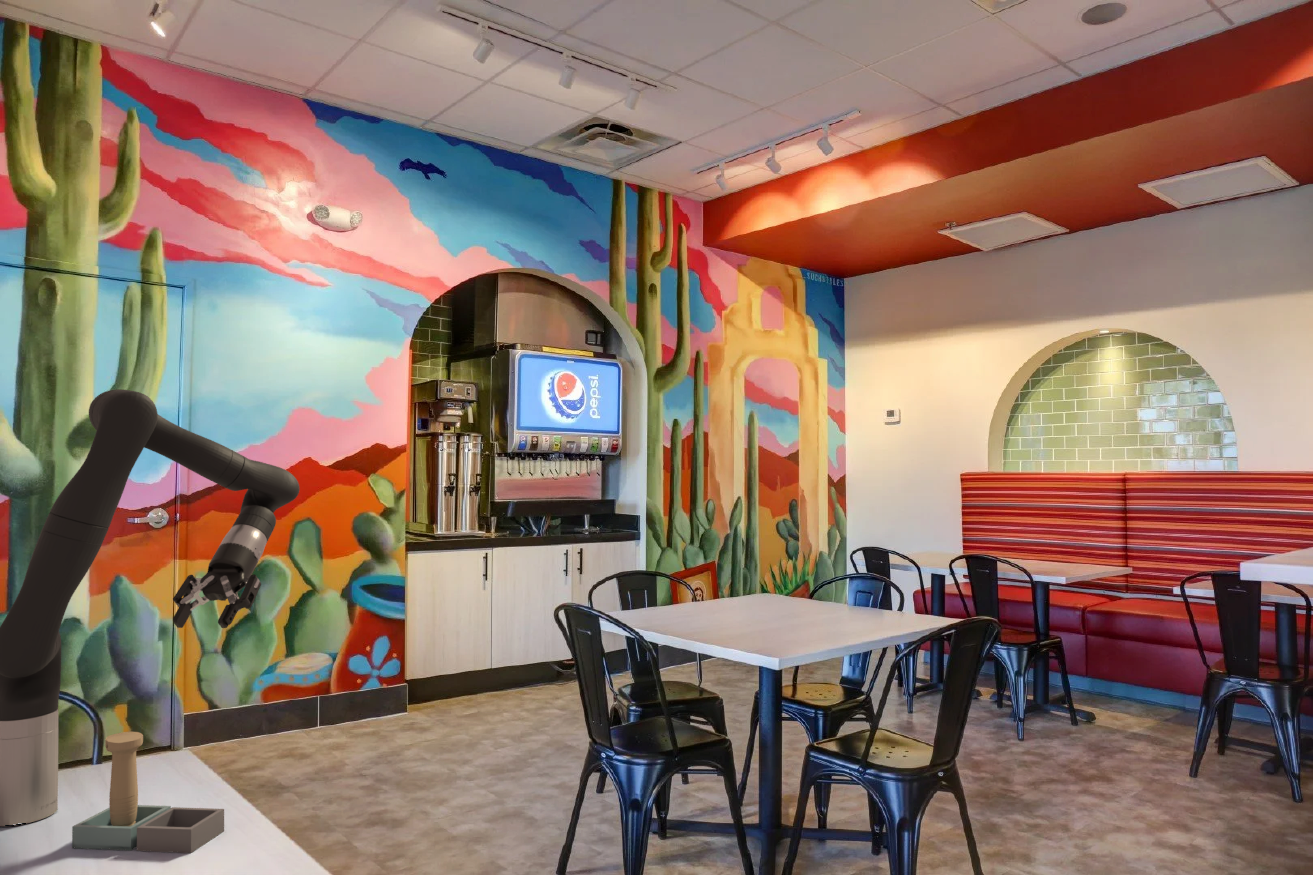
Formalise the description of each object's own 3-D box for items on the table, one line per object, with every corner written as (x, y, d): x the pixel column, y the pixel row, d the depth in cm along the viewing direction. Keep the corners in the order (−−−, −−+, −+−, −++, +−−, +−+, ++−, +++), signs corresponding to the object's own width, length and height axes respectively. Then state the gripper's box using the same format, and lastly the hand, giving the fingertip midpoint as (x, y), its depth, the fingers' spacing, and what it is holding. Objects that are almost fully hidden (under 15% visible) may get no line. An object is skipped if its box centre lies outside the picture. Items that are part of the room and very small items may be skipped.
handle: (112, 843, 133) (113, 744, 134) (99, 832, 138) (100, 736, 138) (147, 833, 137) (147, 737, 137) (133, 822, 141) (134, 729, 142)
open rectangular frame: (136, 850, 132) (136, 827, 132) (172, 829, 140) (172, 807, 140) (191, 853, 131) (191, 829, 131) (224, 831, 139) (224, 808, 139)
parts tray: (72, 848, 133) (72, 826, 133) (115, 824, 142) (115, 804, 142) (130, 850, 132) (130, 828, 132) (170, 826, 141) (170, 806, 141)
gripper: (195, 541, 163) (152, 613, 151) (265, 541, 161) (227, 613, 149) (213, 566, 168) (172, 637, 156) (281, 566, 166) (245, 638, 155)
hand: (199, 625), depth 153 cm, fingers open, 8 cm apart
